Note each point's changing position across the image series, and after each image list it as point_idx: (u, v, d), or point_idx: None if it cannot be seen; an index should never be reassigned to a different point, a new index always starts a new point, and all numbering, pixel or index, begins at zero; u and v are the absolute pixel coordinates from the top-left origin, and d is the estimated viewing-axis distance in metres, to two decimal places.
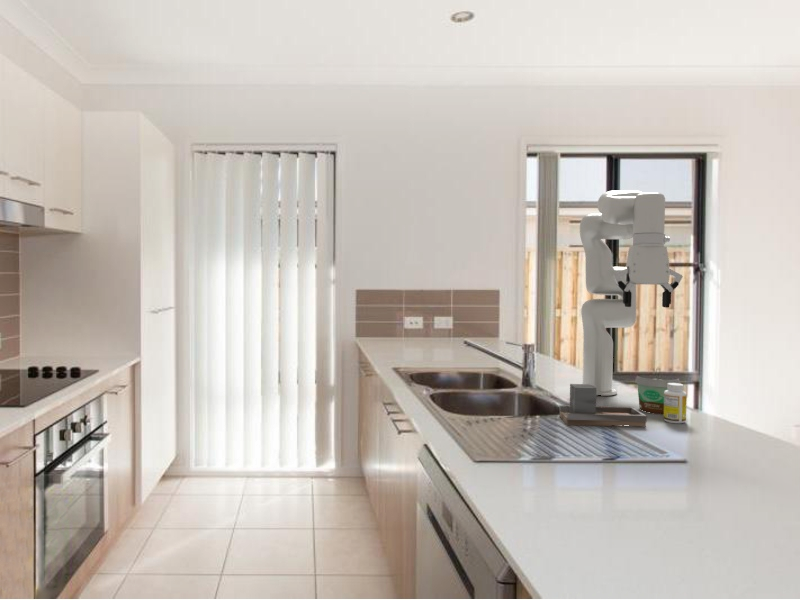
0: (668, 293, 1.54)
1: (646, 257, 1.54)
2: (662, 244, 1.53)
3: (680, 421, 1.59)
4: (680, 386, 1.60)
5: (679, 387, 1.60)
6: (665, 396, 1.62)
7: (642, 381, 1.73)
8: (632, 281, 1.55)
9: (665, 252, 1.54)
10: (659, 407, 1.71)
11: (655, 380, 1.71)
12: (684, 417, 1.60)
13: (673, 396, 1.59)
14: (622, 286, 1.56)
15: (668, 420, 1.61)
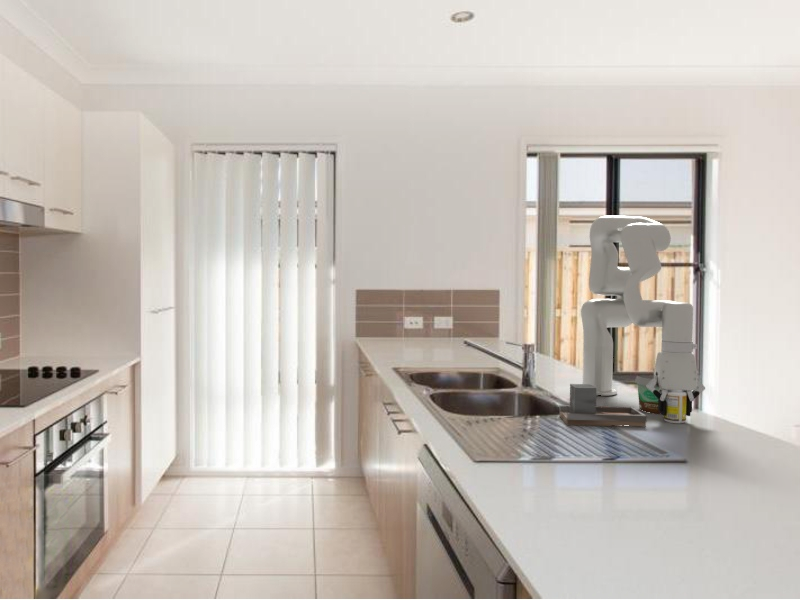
0: (689, 402, 1.60)
1: (674, 365, 1.59)
2: (690, 353, 1.59)
3: (680, 421, 1.59)
4: None
5: None
6: None
7: (642, 381, 1.73)
8: (661, 387, 1.60)
9: (693, 360, 1.59)
10: None
11: None
12: (684, 417, 1.60)
13: (673, 396, 1.59)
14: (657, 395, 1.61)
15: (668, 420, 1.61)
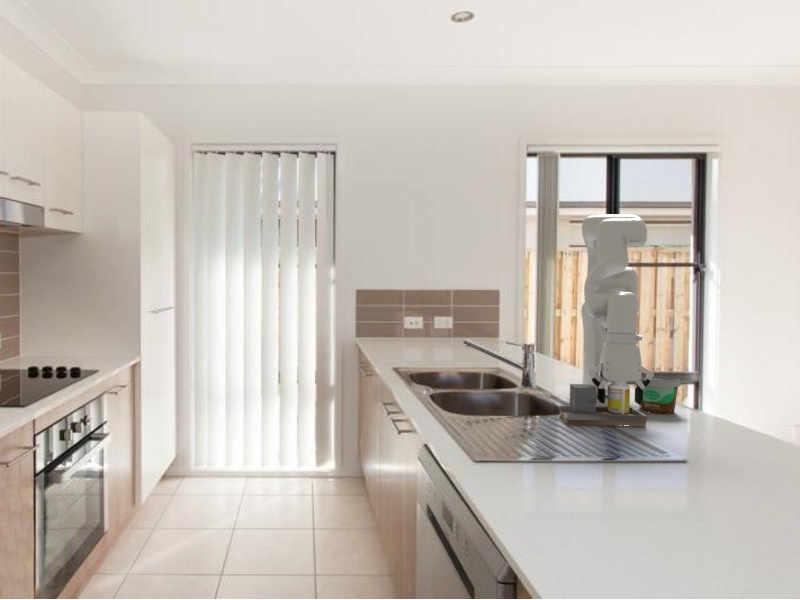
0: (640, 391, 1.59)
1: (618, 356, 1.58)
2: (634, 344, 1.57)
3: None
4: None
5: (622, 381, 1.59)
6: (608, 390, 1.61)
7: None
8: (605, 379, 1.59)
9: (637, 351, 1.58)
10: (659, 407, 1.71)
11: (655, 380, 1.71)
12: (627, 411, 1.59)
13: (616, 390, 1.58)
14: (596, 383, 1.60)
15: None
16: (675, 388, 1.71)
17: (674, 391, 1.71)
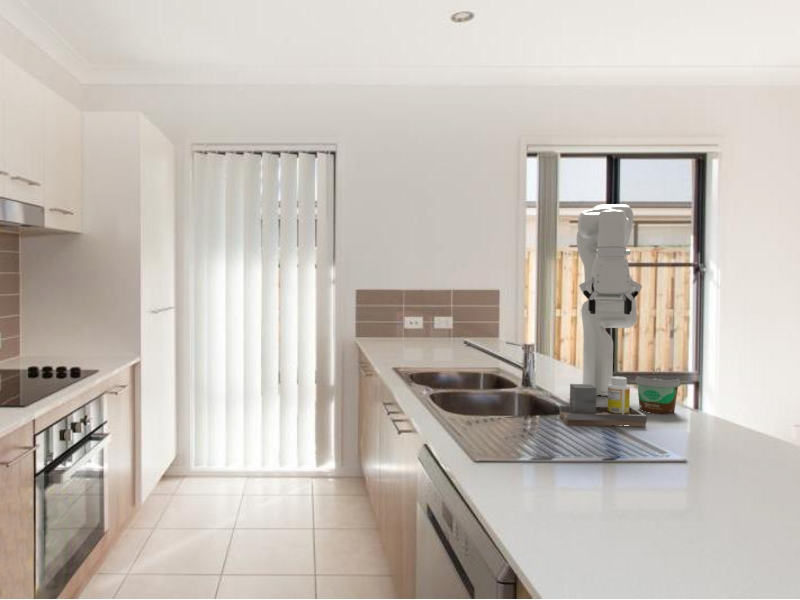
0: (629, 301, 1.70)
1: (608, 269, 1.69)
2: (623, 257, 1.68)
3: None
4: (623, 379, 1.59)
5: (622, 381, 1.59)
6: (608, 390, 1.61)
7: (642, 381, 1.73)
8: (596, 290, 1.70)
9: (626, 264, 1.69)
10: (659, 407, 1.71)
11: (655, 380, 1.71)
12: (627, 411, 1.59)
13: (616, 390, 1.58)
14: (587, 295, 1.71)
15: None
16: (675, 388, 1.71)
17: (674, 391, 1.71)
